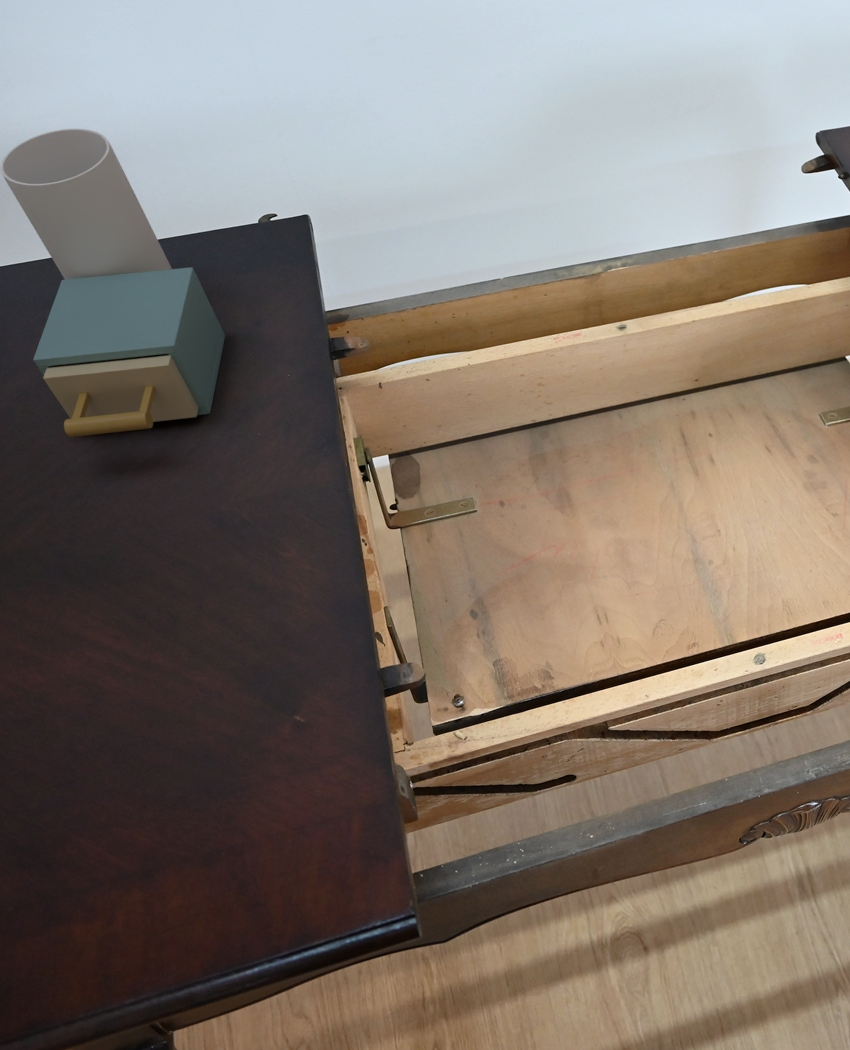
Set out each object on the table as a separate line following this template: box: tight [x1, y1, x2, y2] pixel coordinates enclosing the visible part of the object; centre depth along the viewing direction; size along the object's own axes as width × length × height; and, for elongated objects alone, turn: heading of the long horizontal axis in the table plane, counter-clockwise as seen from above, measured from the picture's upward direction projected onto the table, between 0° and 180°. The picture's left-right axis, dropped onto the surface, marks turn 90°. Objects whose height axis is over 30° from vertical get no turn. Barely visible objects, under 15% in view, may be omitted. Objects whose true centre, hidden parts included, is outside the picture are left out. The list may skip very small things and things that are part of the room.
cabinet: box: [32, 266, 226, 416], centre depth 86 cm, size 10×11×8 cm
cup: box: [0, 128, 173, 280], centre depth 89 cm, size 8×8×16 cm
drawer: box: [42, 354, 198, 438], centre depth 84 cm, size 13×9×6 cm
